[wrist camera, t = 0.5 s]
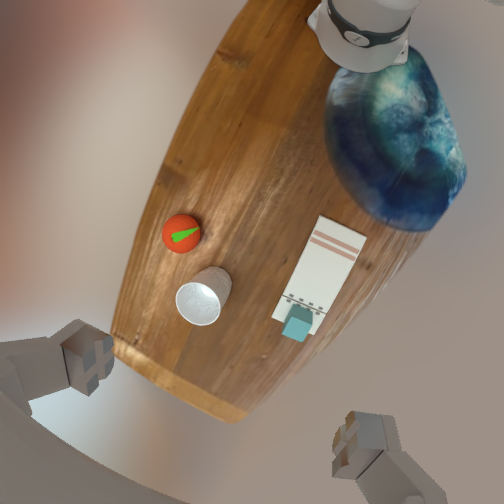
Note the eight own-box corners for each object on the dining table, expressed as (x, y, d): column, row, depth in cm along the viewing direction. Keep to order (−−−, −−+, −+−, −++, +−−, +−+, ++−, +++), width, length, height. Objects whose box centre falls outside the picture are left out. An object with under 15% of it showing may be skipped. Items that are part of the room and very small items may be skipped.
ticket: (319, 214, 50) (320, 215, 49) (365, 236, 49) (367, 238, 48) (283, 291, 55) (282, 294, 54) (326, 310, 54) (326, 313, 53)
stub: (282, 293, 55) (279, 308, 49) (325, 312, 54) (326, 328, 49) (272, 314, 57) (267, 330, 51) (313, 332, 56) (313, 349, 50)
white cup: (191, 267, 57) (169, 286, 48) (228, 259, 55) (211, 278, 46) (203, 303, 59) (185, 327, 50) (240, 297, 57) (226, 322, 48)
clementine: (202, 204, 53) (186, 209, 47) (216, 238, 55) (203, 249, 48) (166, 219, 56) (148, 226, 49) (180, 252, 57) (164, 263, 50)
